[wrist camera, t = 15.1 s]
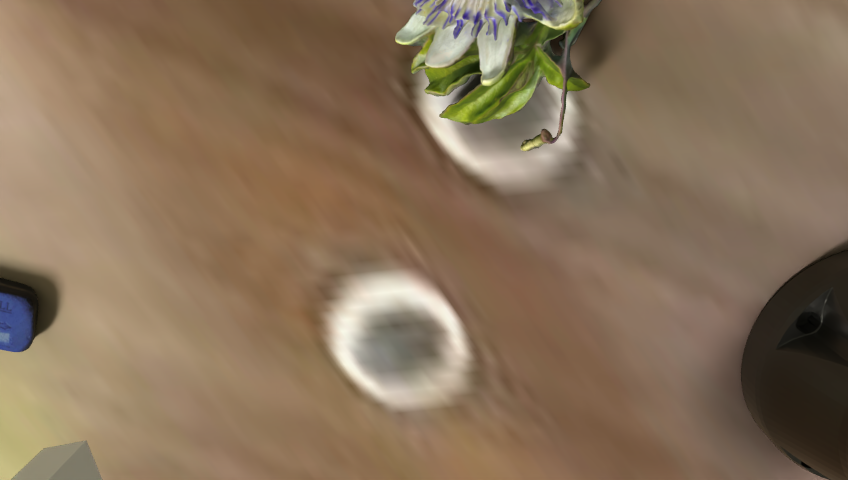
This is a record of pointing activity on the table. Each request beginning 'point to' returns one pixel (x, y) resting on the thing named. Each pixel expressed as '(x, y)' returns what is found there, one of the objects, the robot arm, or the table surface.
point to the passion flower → (496, 53)
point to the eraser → (17, 316)
